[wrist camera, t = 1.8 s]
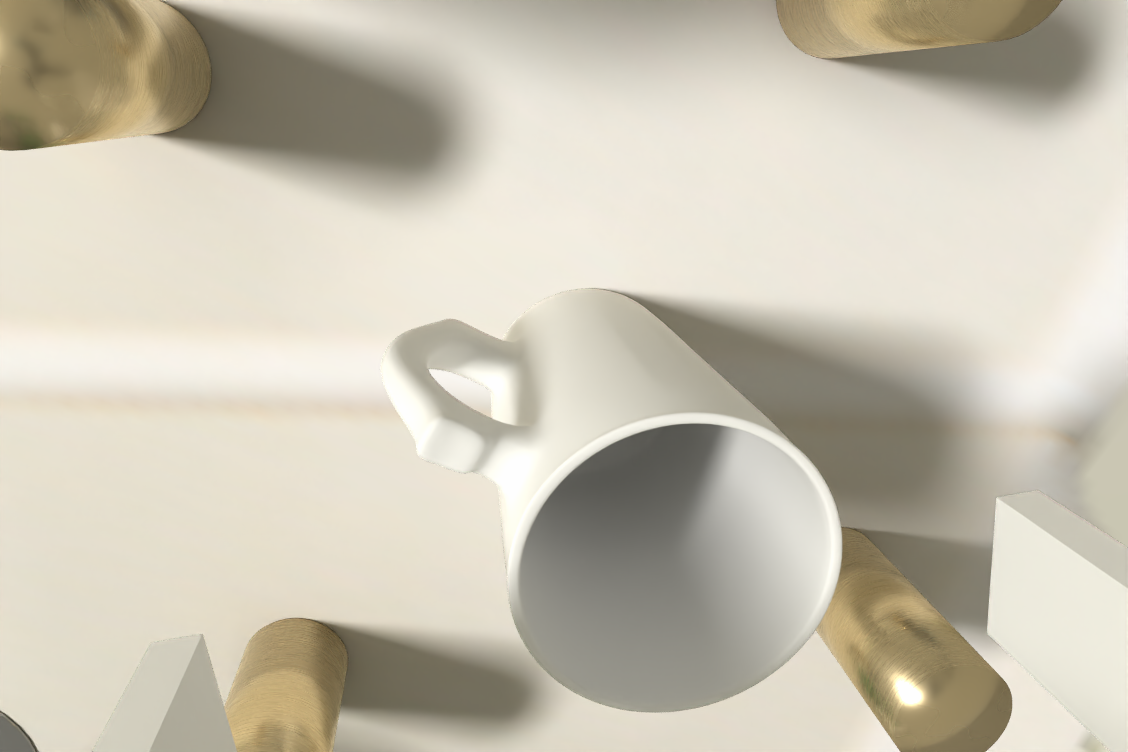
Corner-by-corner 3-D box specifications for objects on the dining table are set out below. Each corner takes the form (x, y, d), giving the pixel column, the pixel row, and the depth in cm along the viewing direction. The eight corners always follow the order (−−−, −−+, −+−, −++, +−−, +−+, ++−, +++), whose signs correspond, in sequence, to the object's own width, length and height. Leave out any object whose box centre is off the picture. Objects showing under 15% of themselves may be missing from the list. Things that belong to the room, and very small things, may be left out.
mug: (720, 337, 28) (908, 501, 16) (619, 500, 29) (728, 754, 18) (450, 190, 25) (453, 265, 14) (354, 377, 26) (285, 585, 15)
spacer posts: (892, -79, 24) (1093, -159, 17) (875, 601, 32) (1007, 756, 24) (54, 1, 22) (-148, -49, 14) (256, 711, 30) (192, 917, 22)
